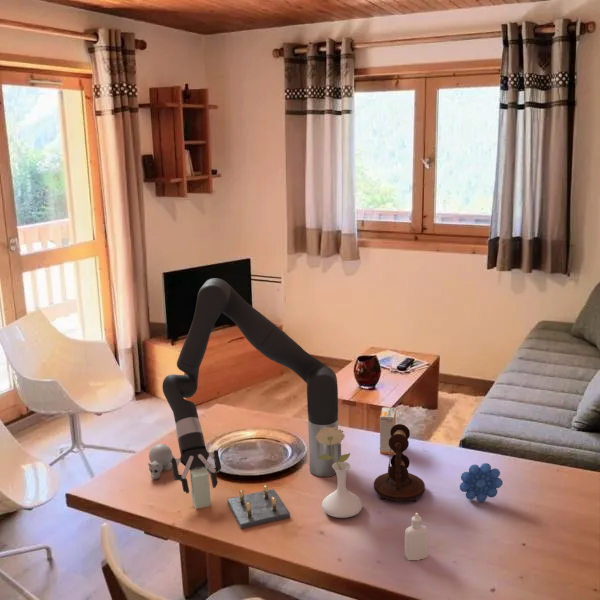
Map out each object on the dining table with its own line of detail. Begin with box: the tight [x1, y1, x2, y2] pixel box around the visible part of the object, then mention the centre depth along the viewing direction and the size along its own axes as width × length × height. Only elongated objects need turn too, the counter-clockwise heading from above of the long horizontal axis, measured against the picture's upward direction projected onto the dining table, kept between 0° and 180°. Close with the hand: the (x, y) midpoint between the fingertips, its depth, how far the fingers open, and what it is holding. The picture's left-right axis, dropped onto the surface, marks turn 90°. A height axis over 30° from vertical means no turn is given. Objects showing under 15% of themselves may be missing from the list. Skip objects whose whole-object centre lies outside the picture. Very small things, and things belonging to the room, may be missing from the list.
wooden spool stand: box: [373, 423, 426, 503], centre depth 197 cm, size 15×15×20 cm
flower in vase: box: [315, 427, 363, 519], centre depth 188 cm, size 13×11×25 cm
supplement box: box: [379, 407, 397, 455], centre depth 224 cm, size 8×5×13 cm, turn 168°
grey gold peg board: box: [227, 484, 291, 530], centre depth 191 cm, size 14×14×5 cm
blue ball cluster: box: [459, 462, 503, 503], centre depth 192 cm, size 12×7×12 cm, turn 73°
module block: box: [189, 468, 212, 510], centre depth 195 cm, size 4×4×10 cm
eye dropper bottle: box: [404, 512, 429, 561], centre depth 167 cm, size 4×6×12 cm
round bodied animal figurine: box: [147, 443, 175, 481], centre depth 214 cm, size 7×12×8 cm, turn 167°
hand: (201, 489), depth 194 cm, fingers open, 7 cm apart
